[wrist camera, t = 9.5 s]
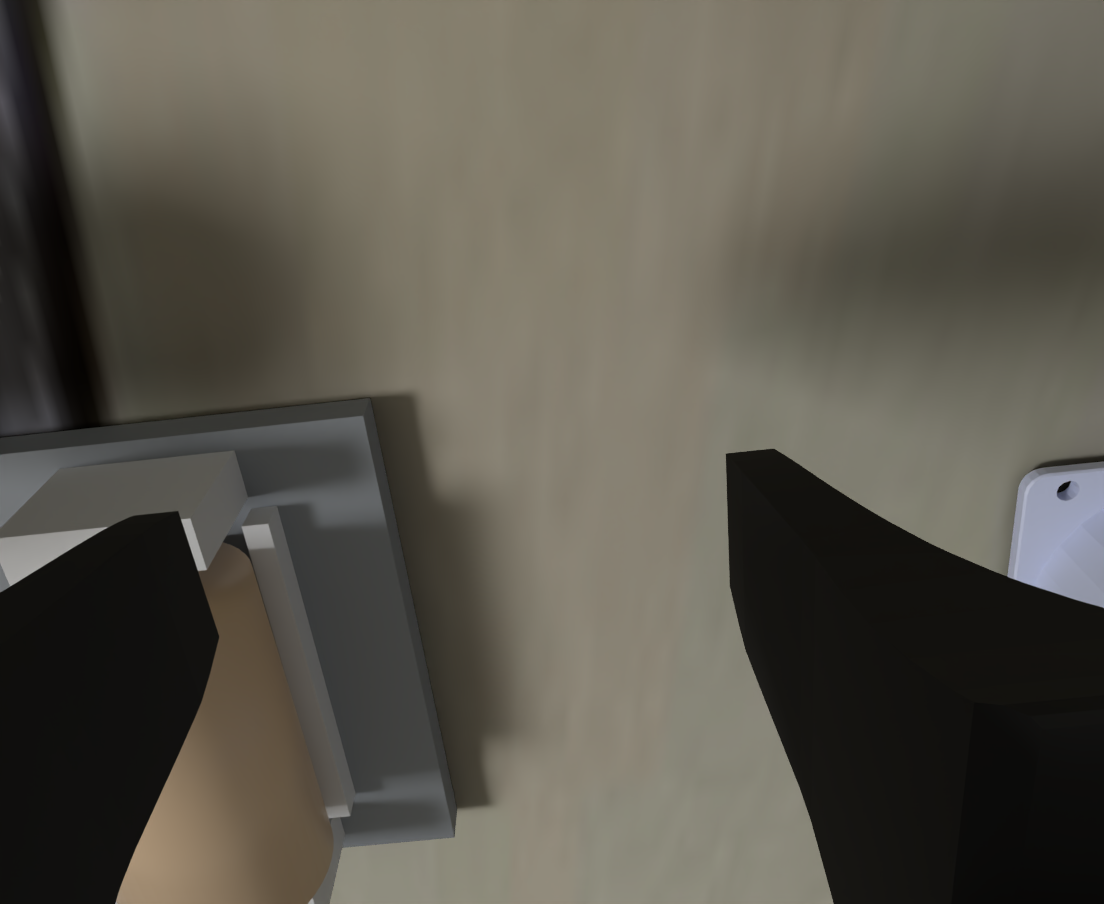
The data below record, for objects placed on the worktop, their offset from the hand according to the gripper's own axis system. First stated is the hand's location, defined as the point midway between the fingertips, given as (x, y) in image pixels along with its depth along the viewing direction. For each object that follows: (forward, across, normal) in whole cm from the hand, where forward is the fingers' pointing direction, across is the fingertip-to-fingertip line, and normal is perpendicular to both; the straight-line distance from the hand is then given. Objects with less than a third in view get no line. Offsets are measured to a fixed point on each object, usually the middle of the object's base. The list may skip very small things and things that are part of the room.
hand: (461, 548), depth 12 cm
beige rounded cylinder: (+6, +8, +8) cm, 13 cm away
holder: (+9, +8, +8) cm, 15 cm away
